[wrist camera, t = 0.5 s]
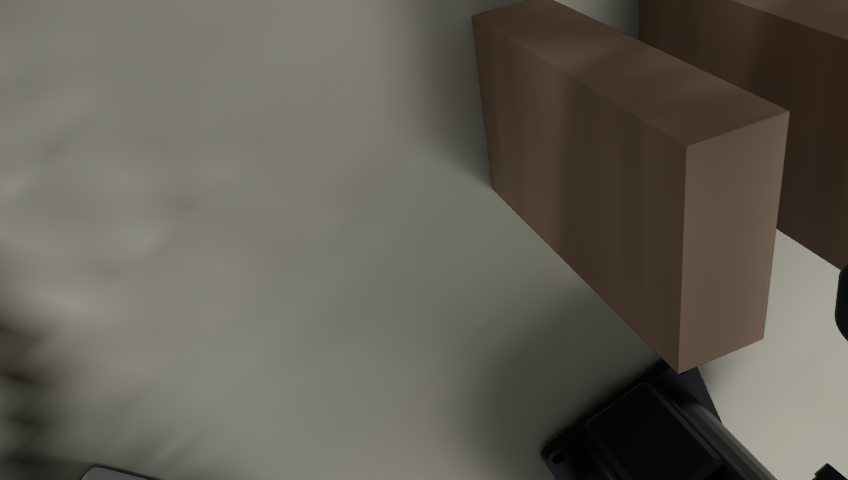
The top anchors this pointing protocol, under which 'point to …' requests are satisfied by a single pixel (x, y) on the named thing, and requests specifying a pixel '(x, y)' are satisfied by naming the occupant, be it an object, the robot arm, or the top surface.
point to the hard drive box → (108, 475)
